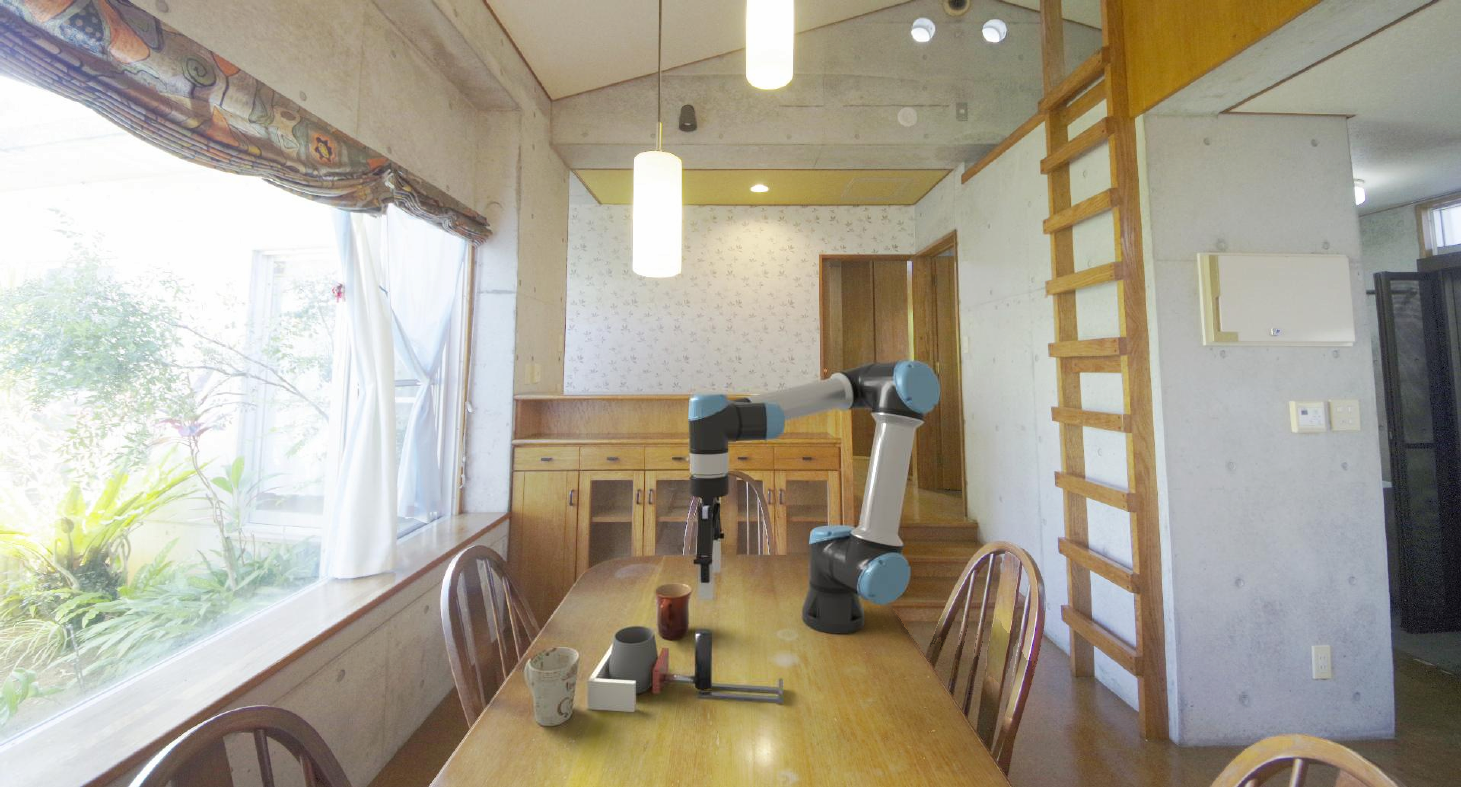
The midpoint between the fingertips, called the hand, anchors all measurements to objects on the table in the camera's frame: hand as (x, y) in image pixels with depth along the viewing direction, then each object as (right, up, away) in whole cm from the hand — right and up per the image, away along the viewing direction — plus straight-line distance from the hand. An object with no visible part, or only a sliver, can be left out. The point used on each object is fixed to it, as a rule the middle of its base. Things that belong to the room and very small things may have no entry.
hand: (710, 584), depth 101 cm
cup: (-15, -20, 0) cm, 24 cm away
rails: (+5, -20, -3) cm, 20 cm away
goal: (-17, -19, -1) cm, 26 cm away
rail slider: (-5, -18, -2) cm, 19 cm away
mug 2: (-10, -19, +20) cm, 30 cm away
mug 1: (-29, -20, -8) cm, 36 cm away
